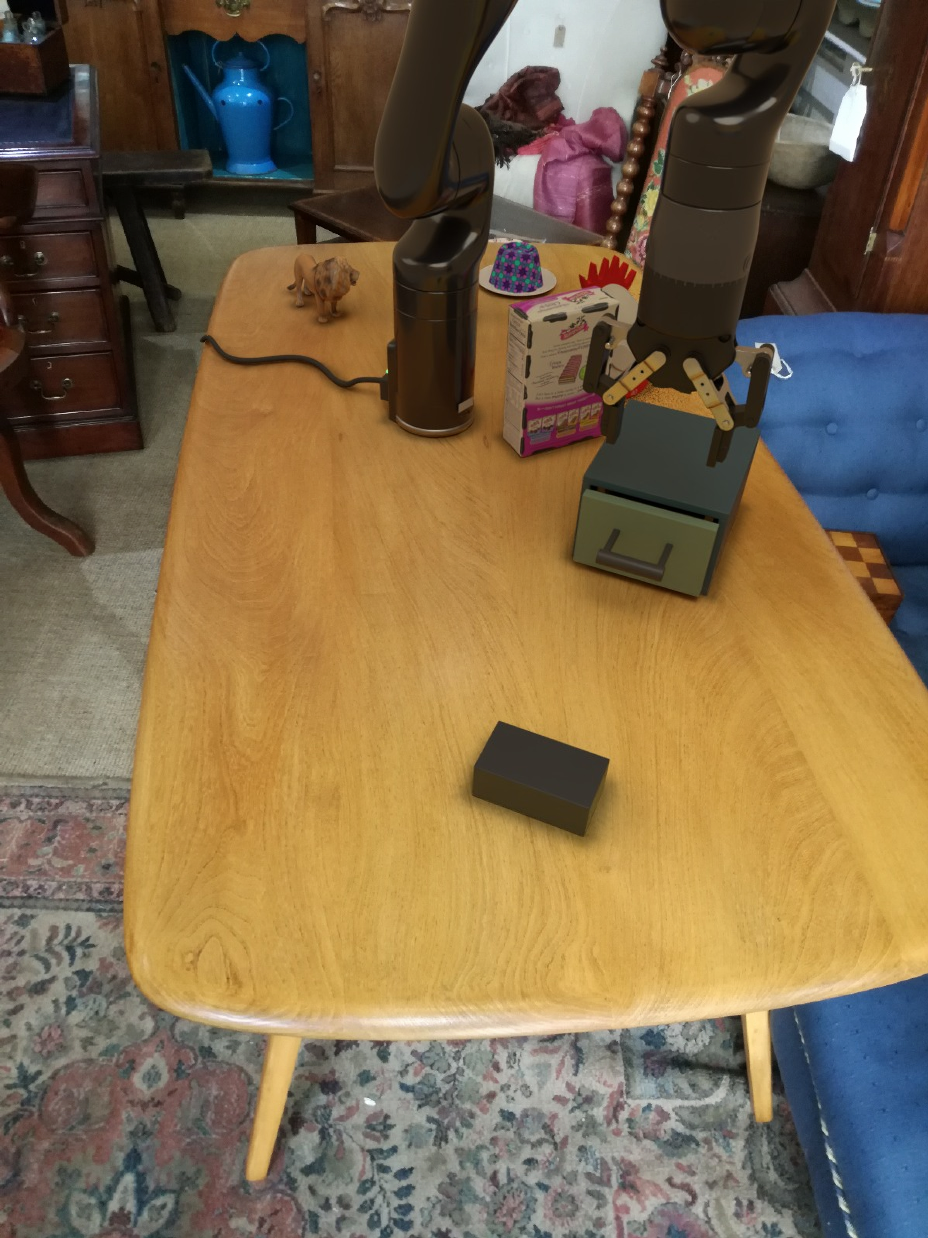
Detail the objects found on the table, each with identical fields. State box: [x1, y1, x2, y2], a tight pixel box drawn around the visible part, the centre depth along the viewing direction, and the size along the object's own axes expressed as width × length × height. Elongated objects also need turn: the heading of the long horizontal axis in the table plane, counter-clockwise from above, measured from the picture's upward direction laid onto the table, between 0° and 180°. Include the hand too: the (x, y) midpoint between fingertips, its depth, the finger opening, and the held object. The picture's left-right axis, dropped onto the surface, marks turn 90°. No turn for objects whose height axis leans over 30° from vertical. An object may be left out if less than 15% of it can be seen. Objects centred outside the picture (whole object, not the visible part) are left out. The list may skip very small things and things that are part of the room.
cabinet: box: [571, 398, 762, 596], centre depth 93 cm, size 16×14×10 cm
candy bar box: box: [502, 286, 620, 458], centre depth 103 cm, size 11×5×16 cm, turn 117°
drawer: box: [572, 487, 719, 598], centre depth 89 cm, size 19×12×8 cm, turn 157°
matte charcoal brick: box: [471, 720, 611, 837], centre depth 70 cm, size 9×5×4 cm, turn 67°
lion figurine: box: [286, 252, 361, 324], centre depth 128 cm, size 15×5×9 cm, turn 44°
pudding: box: [479, 241, 558, 297], centre depth 138 cm, size 12×12×5 cm
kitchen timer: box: [578, 254, 650, 399], centre depth 115 cm, size 14×14×15 cm
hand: (661, 450), depth 78 cm, fingers open, 8 cm apart
